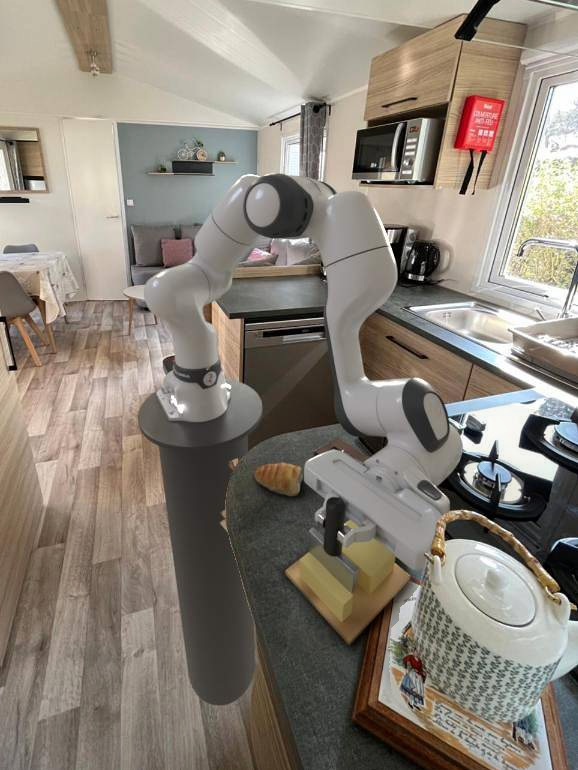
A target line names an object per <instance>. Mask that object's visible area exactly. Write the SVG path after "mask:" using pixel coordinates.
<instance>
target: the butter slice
mask: <svg viewBox="0 0 578 770" xmlns="http://www.w3.org/2000/svg"><path fill="white" fill-rule="evenodd" d="M308 552H309V551H308ZM308 552H306V553H305V554H306V555H305V554H304V555H305V556H304V555H303V556H304V557H303V556H302V557H303V558H302V557H300V558H301V559H300V558H299V559H300V571H299V577H300V578H301V579H302V580H303V581H304V582H305V583H306V584H307V585H308V586H309V587H310V588H311V590H312V591H313V592H314V593H315V594H316V595H317V596H318V597H319V598H320V599H321V600H322V601H323V602H324V604H325V605H326V606H327V607H328V608H329V609H330V610H331V611H332V612H333V613H334V614H335V615H336V616H337V618H338V619H339V620H340V621H341V622H343V621H344V620H345V619H346V618H347V617H348V616H349V615H350V614H351V613H352V604H353V594H352V593H350V592H349V591H348V590H347V589H346V588H345V587H344V586H343V585H342V584H341V583H340V582H339V581H338V580H337V579H336V578H335V577H334V576H333V575H332V574H331V573H330V572H329V571H328V570H327V569H326V568H325V567H324V566H323V565H322V564H321V563H320V562H319V561H318V560H317V559H316V558H315V557H314V556H313V555H312V554H311V553H310V552H309V553H308Z"/></svg>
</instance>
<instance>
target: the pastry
mask: <svg viewBox="0 0 578 770" xmlns="http://www.w3.org/2000/svg"><path fill="white" fill-rule="evenodd" d="M253 476H254V478H255V480H256V482H257V483H258V484H259V485H260V486H263V488H266V489H268V490H269V491H271V492H274V493H276V494H280V495H285V496H287V497H296V496H298V495H299V493H300V490H301V483H302V481H303V479H304V473H303V469H302V467H301V466H300V465H294V464H291V463H287V462H283V461H281V462H276V463H266V464H263V465H262V464H261V465H259V466H258V467H257V469H256V470H255V471H254V473H253Z"/></svg>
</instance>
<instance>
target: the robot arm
mask: <svg viewBox="0 0 578 770" xmlns="http://www.w3.org/2000/svg"><path fill="white" fill-rule="evenodd" d="M385 229H386V228H385V227H384V224H383V221H382V220H381V218H380V216H379V214H378V212H377V210H376V208H375V207H374V204H373V203H372V201H371V200H370V198H369V196H367V195H366V194H365V193H363V192H360V191H358V190H345V191H344V190H343V191H341V192H337V191H336V190H335V188H334V187H332V186H331V185H329V184H328V183H326V182H325V181H322V180H317V179H314V178H312V177H308V176H304V175H290V174H285V173H282V172H281V173H279V172H275V173H267V174H264V175H262V176H259V175H255V174H246V175H243V176H241V177H240V178H239V179H237V180H236V181H235V182H234V183H233V184H232V185H231V186H230V187H229V189H228V190H227V191H226V192H225V193H224V194H223V195H222V197H221V198H220V199H219V200H218V202H217V203H216V204H215V206H214V208H213V209H212V210H211V212H210V213H209V215H208V216H207V218H206V219H205V221H204V223H203V224H202V226H201V228H199V230H198V232H197V233H196V235H195V237H194V247H195V250H196V252H195V253H194V256H193V257H192V258H191V259H190V260H188V261H187V262H185V263H183V264H180V265H176V266H172V267H168V268H165V269H163V270H161V271H159V272H158V273H156V274H154V275H153V276H152V277H150V278H149V279H148V280H147V281H146V283H145V284H144V289H143V297H144V302H145V305H146V306H147V308H148V310H149V311H150V312H151V313H152V314H153V315H154V316H156V317H157V318H159V319H161V320H162V321H164V323H165V324H166V325H167V327H168V329H169V332H170V334H171V339H172V346H173V354H174V357H172V358H171V359H172V363H173V365H172V370H170V371H168V372H166V373H165V375H164V377H163V383H162V384H163V385H161V387H160V388H159V389H157V390H158V391H157V390H156V391H157V392H156V391H155V392H156V396H157V398H158V400H159V402H160V404H161V406H162V408H163V410H164V412H165V413H166V415H167V417H168V419H169V420H170V421H188V422H205V421H209V420H213V419H215V418H217V417H219V416H221V415H222V414H223V413H224V412H225V411H226V409H227V407H228V400H229V399H230V397H231V395H230V392H228V391H227V389H226V387H228V388H231V386H230V385H228V384H226V382H225V378H226V375H225V372H224V371H223V370H222V360H221V357H220V355H219V341H218V340H219V339H218V331H217V329H216V327H215V326H214V325H213V324H212V323H210V322H208V321H207V320H206V318H205V315H204V306H207V305H209V304H211V303H214V302H215V301H217V300H219V299H220V298H222V297H223V296H224V295H225V294H226V293H227V292H228V291H229V290H230V289H231V287H232V284H233V275H234V273H235V271H236V269H237V267H238V266H239V265H240V263H241V262H242V261H243V259H244V258H245V257H246V255H247V254H248V253H250V251H251V249H252V248H253V247H254V245H255V244H256V243H257V242H258V241H259V239H260V238H261V236H262V237H265V238H267V239H273V240H278V239H279V240H281V239H282V240H293V241H294V240H295V241H296V240H301V239H310V240H311V241H312V242H313V243H314V244H315V245H316V247H317V249H318V251H319V254H320V258H321V261H322V264H323V268H324V271H325V275H326V276H325V277H326V282H327V301H326V303H325V304H324V307H323V325H324V332H325V333H324V334H325V339H326V345H327V352H328V357H329V363H330V369H331V374H332V382H333V391H334V392H333V393H334V395H333V396H334V397H333V398H334V399H333V401H334V402H333V403H334V405H333V407H334V413H335V414H334V415H335V417H336V420H337V421H338V423H339V425H340V426H341V428H342V429H343V430H344V431H345V432H346V433H347V434H349V435H350V436H352V437H355V438H372V437H381V438H386V439H387V444H386V445H385V446H384V447H383V448H381V449H380V450H378V451H377V452H375V453H374V454H373V455H371V456H369V457H370V458H369V459H367V460H366V461H365V462H364V463H363V462H361V461H360V460H358V459H356V458H354V457H353V456H351V455H350V454H349V453H347V452H346V451H339V450H335V449H333V450H330V451H327V452H324V453H322V454H320V455H317V456H315V457H314V456H313V457H311V458H309V459H308V460H306V461H305V462H304V467H303V482H304V483H305V484H306V485H307V486H308V487H309V488H311V489H312V490H313V491H314V492H316V493H317V494H318V495H319V496H321V497H322V498H323V499H324V501H323V505H322V506H321V507H320V508H319V509H318V510H317V511H315V513H314V521H315V522H316V523H317V524H318V525H319V526H321V527H322V528H324V529H325V514H326V502H327V500H328V499H329V498H331V497H338V498H340V499H342V500H343V501H344V502H345V504H346V511H345V517H346V518H347V519H349V520H351V521H353V522H354V523H355V524H356V525H358V526H359V527H357V528H352V529H351V528H350V527H349V526H347V525H345V526H344V527H343V529H340V530H339V531H338V534H337V536H338V538H337V540H338V541H339V542H340V543H341V544H342V545H343V546H344V547H345V548H348V547H349V546H350V545H351V544H353V543H354V542H355V543H356V542H369V541H370V540H372V539H373V538H374V539H375V540H376V541H377V542H379V543H380V544H381V545H382V546H384V547H385V548H386V549H387V550H388V551H390V552H391V553H392V554H393V555H395V556H396V557H395V558H397V559H398V560H399V561H401V562H402V563H403V564H404V565H405V566H407V567H408V568H409V569H410V570H412V571H417V572H419V571H420V572H421V571H425V570H426V569H427V568H426V558H425V556H424V554H425V553H428V552H429V551H430V548H431V544H432V541H433V538H434V535H435V529H436V524H437V522H438V520H439V519H440V518H441V516H443V515H444V514H446V513H449V514H450V509H451V507H450V506H451V501H450V499H449V497H448V496H447V495H445V493H443V492H442V491H441V490H440V489H439V488H438V486H439V485H441V484H442V483H443V482H444V481H445V480H446V479H447V478H448V477H449V476H450V475H451V474H452V473H453V471H455V469H456V468H457V466H458V465H459V463H460V460H461V457H462V455H463V451H464V443H463V440H462V437H461V434H460V433H459V432H458V430H457V429H456V428H455V427H454V426H453V425H452V424H451V423H450V418H449V413H448V410H447V407H446V405H445V402H444V400H443V399H442V397H441V395H440V394H439V393H438V391H437V390H436V389H435V388H434V387H433V386H432V385H431V384H430V383H429V382H427V381H426V380H425V379H422V378H421V377H405V378H401V377H400V378H390V379H380V380H379V379H378V380H370V379H369V378H368V377H367V376H366V374H365V370H364V364H363V358H362V350H361V345H360V338H359V334H360V330H361V327H362V325H363V323H364V322H365V321H366V320H367V318H368V317H369V316H371V315H372V314H374V312H376V311H377V310H378V309H379V308H381V307H382V306H383V305H384V304H385V303H386V302H387V300H388V299H389V298H390V297H391V295H392V294H393V292H394V290H395V287H396V285H397V283H398V266H397V262H396V258H395V256H394V253H393V249H392V246H391V243H390V240H389V237H388V234H387V232H386V230H385ZM442 522H443V520H442ZM442 522H441V523H442ZM425 568H426V569H425Z"/></svg>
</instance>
